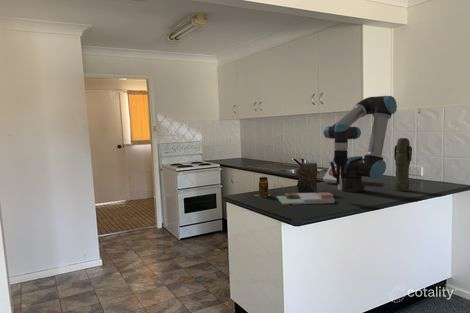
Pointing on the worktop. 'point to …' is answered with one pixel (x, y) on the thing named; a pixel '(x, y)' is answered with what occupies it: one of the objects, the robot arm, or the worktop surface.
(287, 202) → the mat
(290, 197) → the walnut coaster
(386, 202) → the worktop surface
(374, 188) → the worktop surface
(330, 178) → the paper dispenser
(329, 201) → the pale grey square slab
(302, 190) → the knife block
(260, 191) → the condiment
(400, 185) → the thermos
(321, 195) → the terracotta tile
